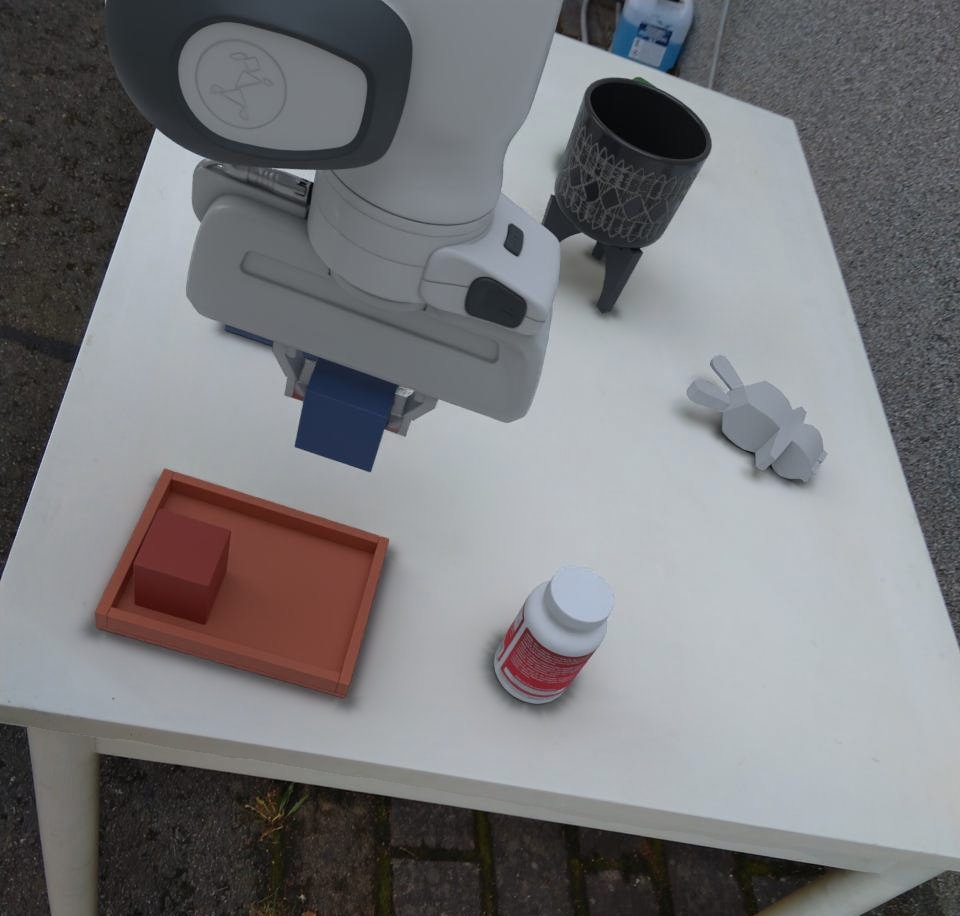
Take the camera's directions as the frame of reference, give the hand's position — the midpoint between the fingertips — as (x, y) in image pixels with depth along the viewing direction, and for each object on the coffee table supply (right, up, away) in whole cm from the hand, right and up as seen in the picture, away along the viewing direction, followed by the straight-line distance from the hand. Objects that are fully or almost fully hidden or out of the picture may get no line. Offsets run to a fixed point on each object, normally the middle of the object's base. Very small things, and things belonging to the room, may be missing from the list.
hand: (348, 410), depth 58 cm
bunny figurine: (+35, +6, +37) cm, 51 cm away
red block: (-13, -11, +8) cm, 19 cm away
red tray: (-9, -11, +11) cm, 17 cm away
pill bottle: (+12, -17, +14) cm, 25 cm away
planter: (+19, +25, +43) cm, 53 cm away
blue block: (-1, -1, +2) cm, 2 cm away
